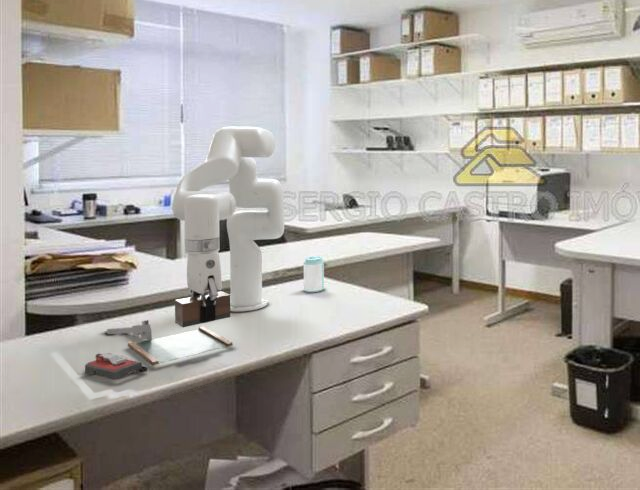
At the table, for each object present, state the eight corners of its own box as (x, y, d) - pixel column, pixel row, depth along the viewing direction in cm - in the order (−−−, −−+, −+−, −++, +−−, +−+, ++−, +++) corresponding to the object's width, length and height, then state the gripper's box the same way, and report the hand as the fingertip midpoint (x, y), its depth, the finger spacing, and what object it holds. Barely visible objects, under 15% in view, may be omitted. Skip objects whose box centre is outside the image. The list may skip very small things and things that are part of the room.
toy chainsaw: (156, 371, 134) (101, 359, 142) (156, 353, 134) (101, 341, 142) (118, 386, 126) (62, 372, 134) (118, 366, 126) (62, 353, 134)
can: (300, 292, 207) (299, 259, 206) (309, 287, 214) (309, 255, 213) (318, 293, 205) (318, 260, 205) (327, 288, 212) (327, 256, 212)
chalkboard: (128, 349, 149) (128, 342, 149) (202, 332, 162) (202, 326, 162) (153, 369, 135) (153, 362, 135) (232, 349, 149) (232, 342, 149)
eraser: (175, 322, 137) (174, 299, 137) (222, 312, 146) (222, 291, 145) (182, 327, 134) (182, 304, 134) (230, 317, 142) (230, 294, 142)
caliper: (151, 344, 153) (151, 320, 153) (147, 345, 152) (147, 321, 152) (108, 332, 162) (108, 310, 162) (104, 333, 161) (104, 311, 161)
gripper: (232, 247, 136) (233, 323, 137) (205, 239, 148) (206, 308, 148) (199, 252, 131) (200, 330, 131) (173, 242, 142) (174, 315, 143)
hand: (203, 318), depth 140 cm, fingers closed on eraser, 5 cm apart
